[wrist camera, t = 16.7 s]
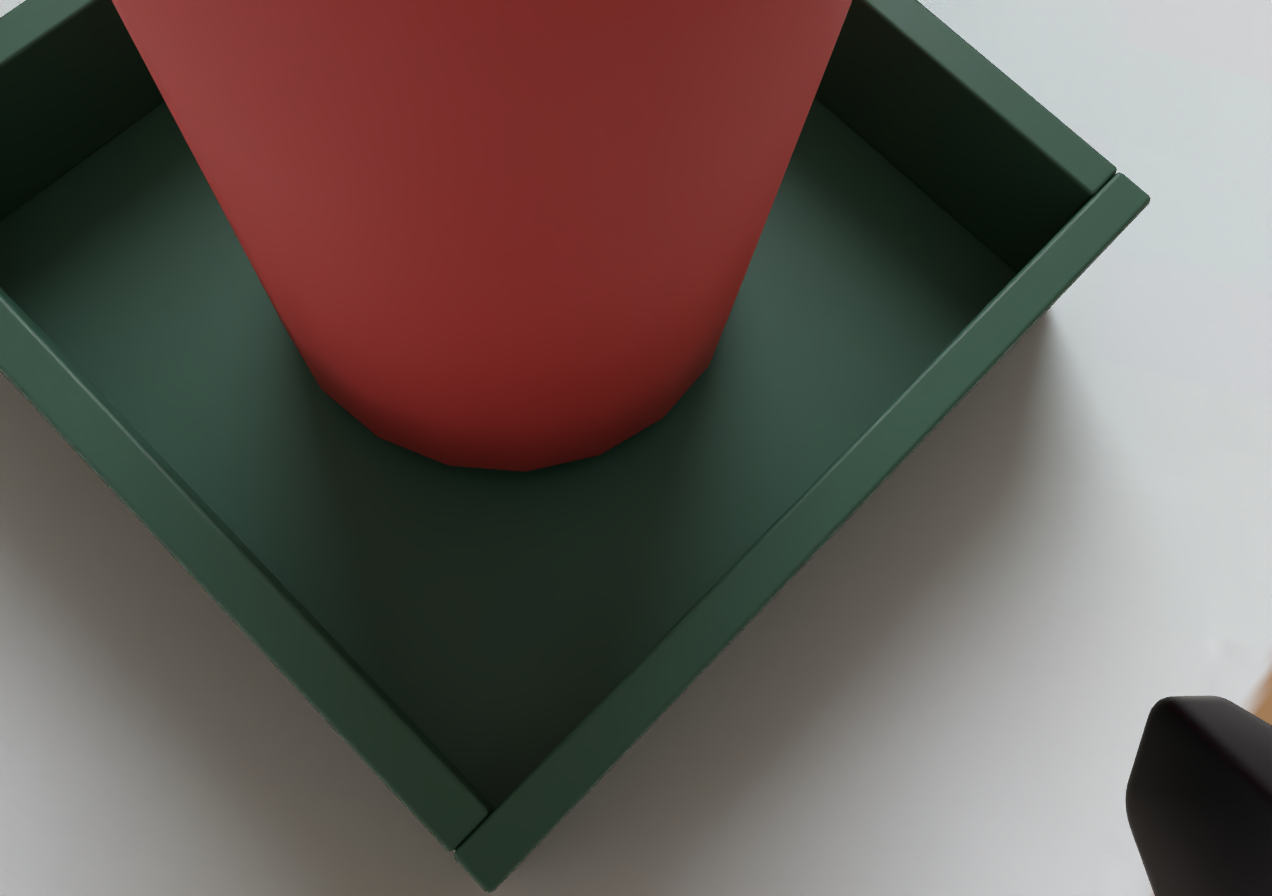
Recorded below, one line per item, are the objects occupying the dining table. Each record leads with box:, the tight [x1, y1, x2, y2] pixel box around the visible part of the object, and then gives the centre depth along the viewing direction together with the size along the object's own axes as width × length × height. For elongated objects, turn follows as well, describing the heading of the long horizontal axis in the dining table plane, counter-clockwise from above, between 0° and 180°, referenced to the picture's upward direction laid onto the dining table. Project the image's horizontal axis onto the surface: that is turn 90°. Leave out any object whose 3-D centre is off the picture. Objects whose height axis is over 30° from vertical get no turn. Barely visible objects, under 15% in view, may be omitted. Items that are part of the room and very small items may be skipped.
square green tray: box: [0, 0, 1150, 893], centre depth 16 cm, size 12×12×3 cm
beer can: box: [112, 0, 852, 472], centre depth 12 cm, size 7×7×12 cm
